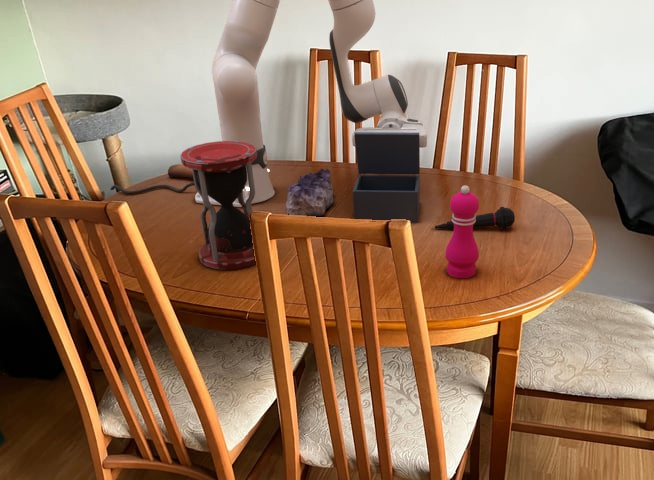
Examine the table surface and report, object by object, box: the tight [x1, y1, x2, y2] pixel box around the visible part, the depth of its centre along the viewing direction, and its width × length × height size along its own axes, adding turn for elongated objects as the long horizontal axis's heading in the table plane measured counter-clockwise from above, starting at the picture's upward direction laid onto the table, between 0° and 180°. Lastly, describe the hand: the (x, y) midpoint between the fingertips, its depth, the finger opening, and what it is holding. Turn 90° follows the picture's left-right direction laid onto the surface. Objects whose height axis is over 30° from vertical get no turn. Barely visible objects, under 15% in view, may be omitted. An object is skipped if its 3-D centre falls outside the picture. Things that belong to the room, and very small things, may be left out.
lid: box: [353, 131, 421, 175], centre depth 162 cm, size 13×17×1 cm
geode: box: [285, 168, 335, 217], centre depth 169 cm, size 20×12×10 cm, turn 169°
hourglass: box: [179, 140, 257, 271], centre depth 140 cm, size 16×16×25 cm
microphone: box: [434, 206, 516, 231], centre depth 155 cm, size 6×6×20 cm
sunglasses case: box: [167, 163, 194, 179], centre depth 193 cm, size 18×7×7 cm, turn 68°
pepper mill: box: [444, 184, 480, 279], centre depth 131 cm, size 7×7×20 cm
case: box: [352, 174, 421, 223], centre depth 164 cm, size 13×17×8 cm
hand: (387, 146), depth 161 cm, fingers closed
